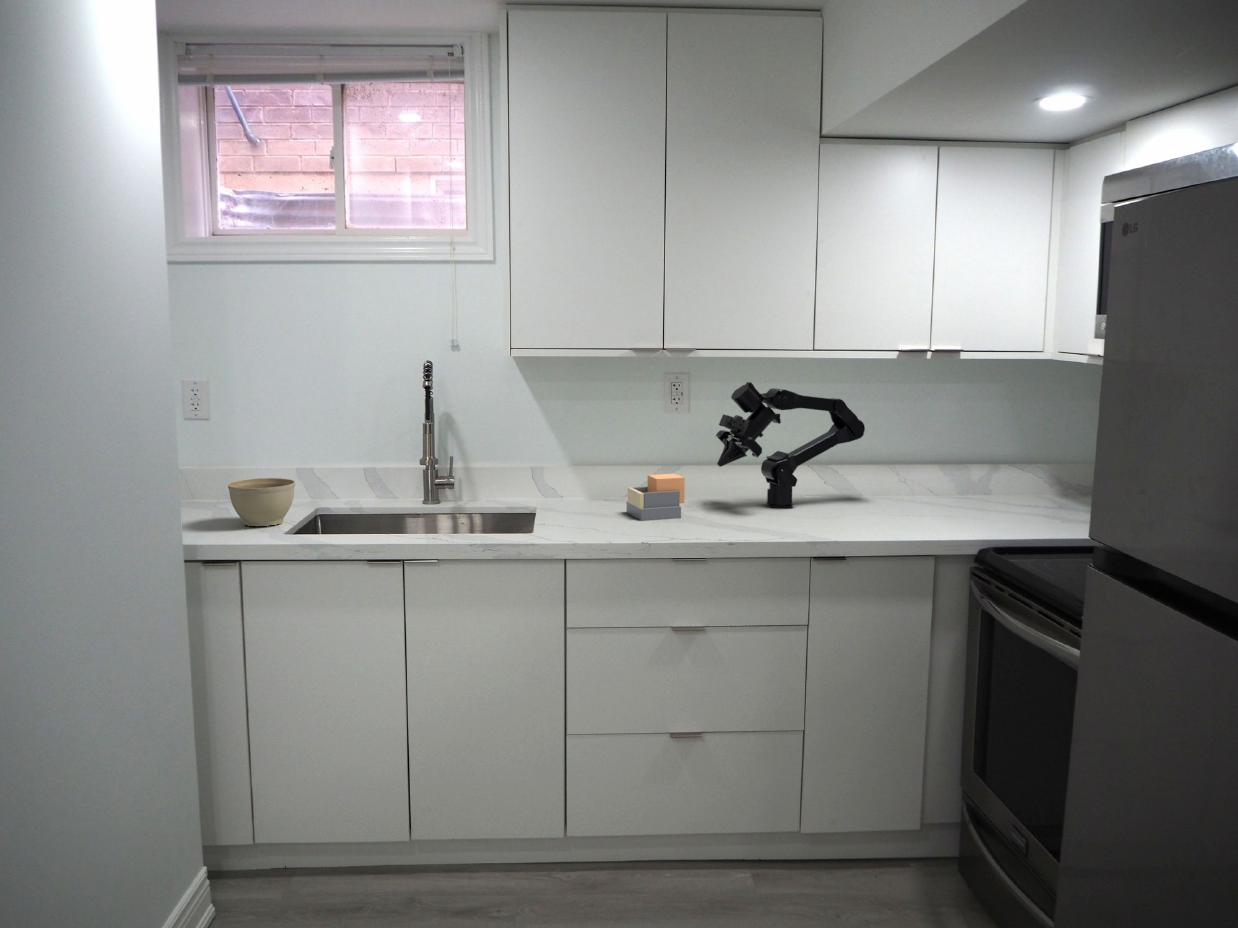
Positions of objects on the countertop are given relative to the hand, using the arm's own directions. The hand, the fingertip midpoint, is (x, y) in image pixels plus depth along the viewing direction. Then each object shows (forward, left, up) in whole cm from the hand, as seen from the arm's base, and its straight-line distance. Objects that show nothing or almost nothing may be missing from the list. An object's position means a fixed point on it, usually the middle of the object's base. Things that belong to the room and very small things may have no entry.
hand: (718, 465), depth 256 cm
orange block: (+14, +7, -9) cm, 18 cm away
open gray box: (+17, +8, -13) cm, 22 cm away
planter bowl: (+117, +31, -13) cm, 121 cm away
